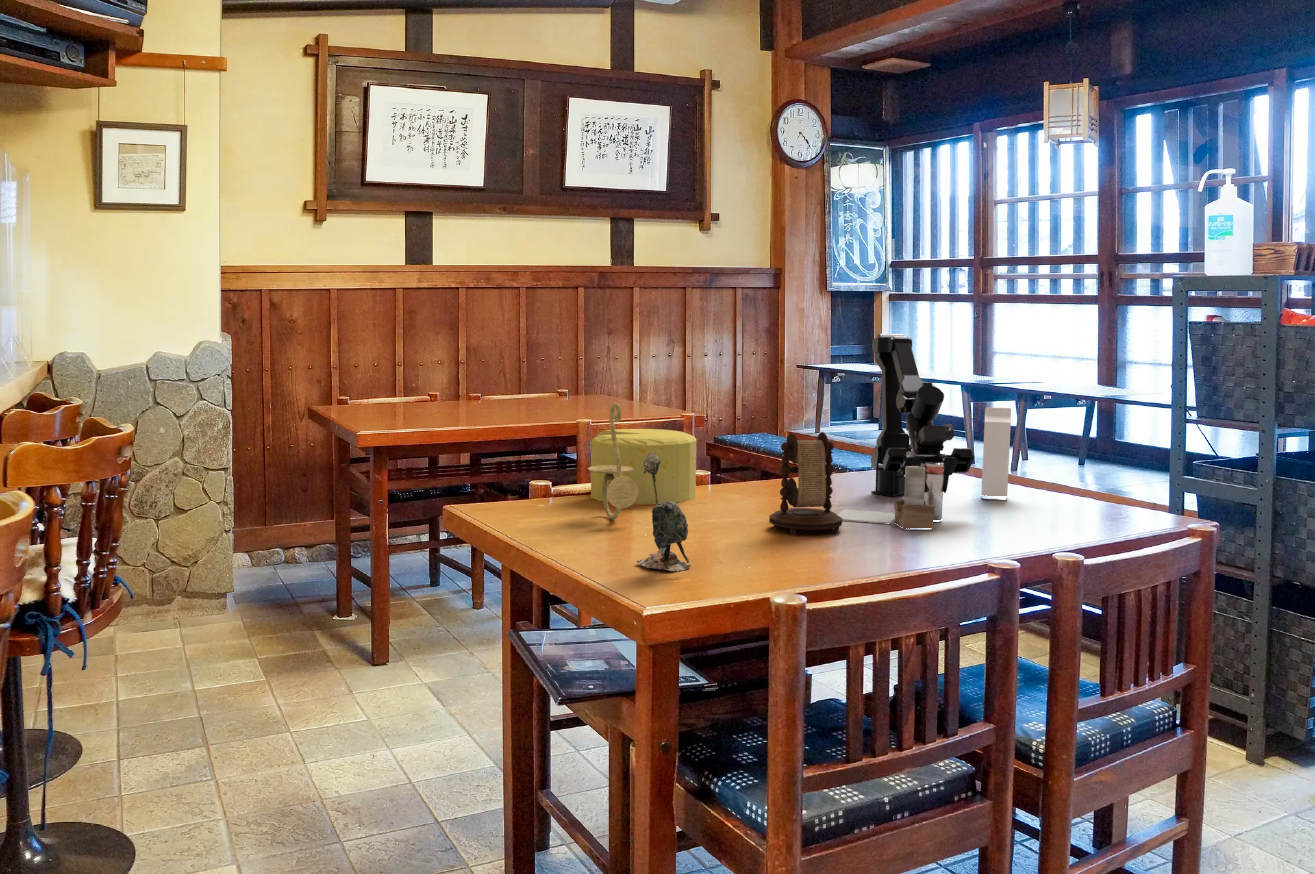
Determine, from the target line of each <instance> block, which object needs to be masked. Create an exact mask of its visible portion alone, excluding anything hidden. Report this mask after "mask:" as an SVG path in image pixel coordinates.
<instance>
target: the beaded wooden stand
mask: <svg viewBox="0 0 1315 874" xmlns="http://www.w3.org/2000/svg"><path fill="white" fill-rule="evenodd" d="M780 448H781V449H780V450H782V452H781V454H782V455H783V456H782V458H781V464H782V465H780V467H779V473H780V474H781V477H782V480H781V482H780V485H781V489H780V490H779V495H780V496H782V497H780V500H781V503H780V505H779V508H780V510H777V511H774V512H773V513H771V514H769V518H768V519H769V520H768V521H769V524H771V525H772V526H774V527H780V528H785V529H789V532H790V534H791V536H795V534H796V531H797V530H807V531H808V530H813V531H814V530H817V531H818V530H830V529H833V531H834V533H835V534H838V533H839V530H840V527H841V526H842V525H843V521H842V518H841V517H840V516H838V514H837V513H835V512H833V511H831V509H832V501H831V498H832V496H831V495H832V494H833V492H834V491H833V490H834V489H833V487H832V486H831V485H832V484H833V482H832V477H831V476H833V473H834V471H835V466H834V464H832V462H833V461H834V460H833V455H832V454H833V453H834V451H833V450H834V448H835V444H834V443H833V441H831V440H829V438H828V436H827V434H826V433H825V432H819V433H818V435H817V438H816V439H812V440H807V439H805V440H803V439H802V440H798V438H797V435H796V434H795V433H794V432H790V433H789V434H788V435H787V437H786V441H784V442H783V443H781V445H780ZM790 461H791V462H792V464H793V465H795V464H796V465H797V466H792V467H791V466H790V465H789V464H790ZM791 473H792V474H797V475H798V477H797V478H798V483H796V480H795V479H794V477H789V476H790V474H791ZM797 484H798V486H797ZM789 505H790V506H792V507H791V508H789ZM813 507H814V508H813ZM816 507H817V508H816ZM818 507H819V508H818ZM821 507H823V509H820V508H821Z"/></svg>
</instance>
